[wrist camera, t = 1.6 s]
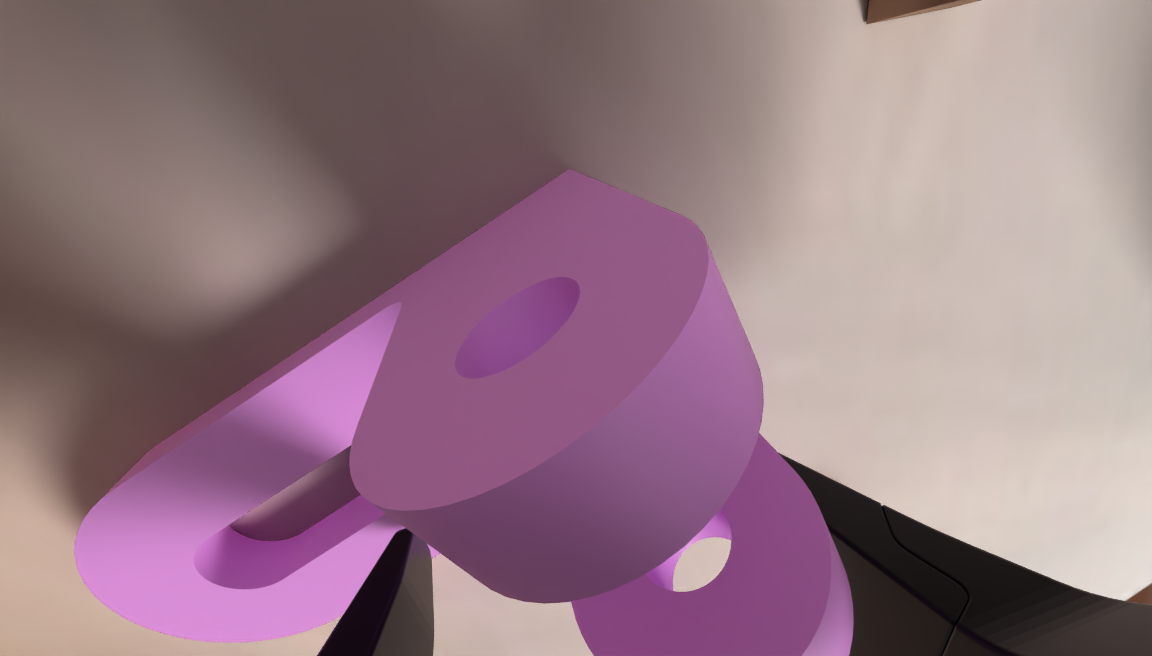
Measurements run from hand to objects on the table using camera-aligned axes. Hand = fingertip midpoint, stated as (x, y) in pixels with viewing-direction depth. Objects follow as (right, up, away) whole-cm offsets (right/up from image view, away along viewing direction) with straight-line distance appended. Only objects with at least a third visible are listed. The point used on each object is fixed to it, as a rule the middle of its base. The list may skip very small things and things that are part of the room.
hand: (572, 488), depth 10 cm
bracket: (-4, +1, +1) cm, 4 cm away
